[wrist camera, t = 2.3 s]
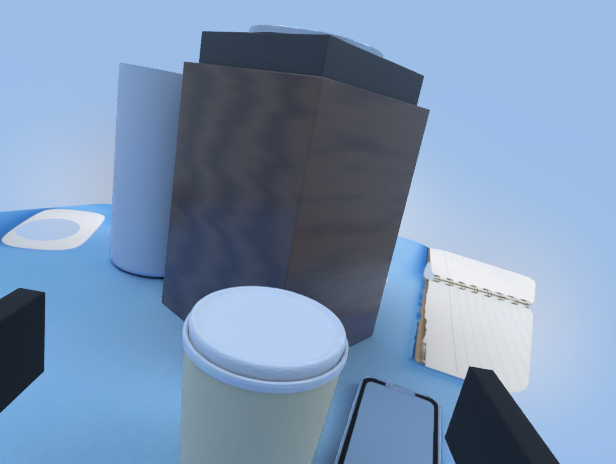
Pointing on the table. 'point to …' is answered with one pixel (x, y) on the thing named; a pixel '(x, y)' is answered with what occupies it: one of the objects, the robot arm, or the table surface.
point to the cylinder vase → (144, 168)
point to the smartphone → (391, 426)
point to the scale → (311, 60)
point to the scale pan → (306, 31)
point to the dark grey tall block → (288, 189)
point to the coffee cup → (258, 376)
